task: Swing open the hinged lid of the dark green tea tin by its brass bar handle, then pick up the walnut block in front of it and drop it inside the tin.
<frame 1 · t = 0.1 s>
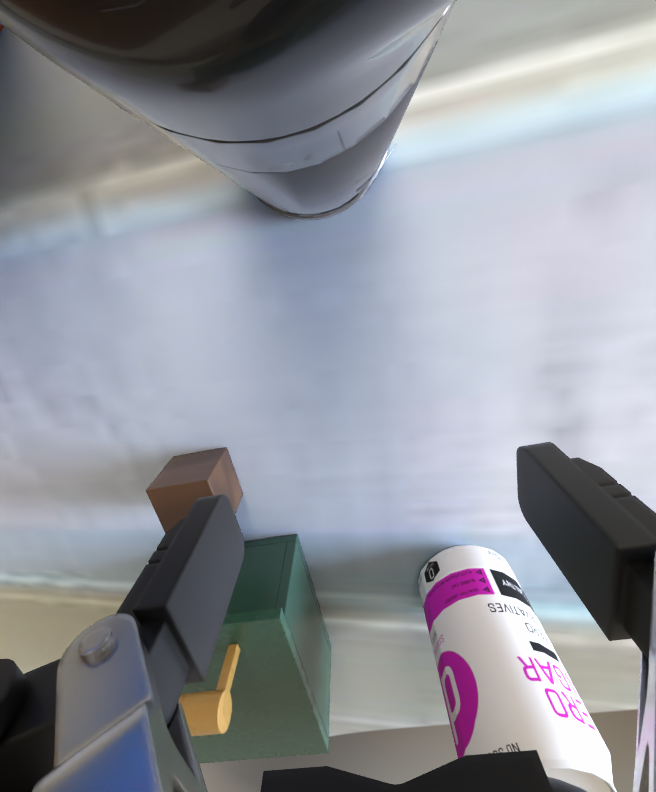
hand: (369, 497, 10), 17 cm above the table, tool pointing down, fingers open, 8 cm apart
walnut block: (208, 475, 31), on the table
supplement can: (461, 573, 34), on the table
tin lid: (222, 732, 26), point 11 cm above the table, hinge at 0.0°
tea tin: (257, 601, 36), on the table
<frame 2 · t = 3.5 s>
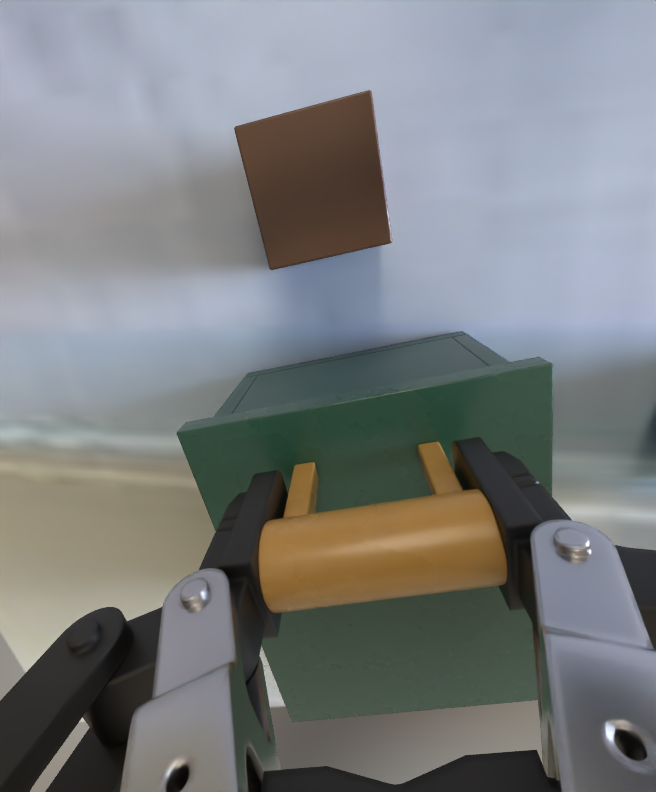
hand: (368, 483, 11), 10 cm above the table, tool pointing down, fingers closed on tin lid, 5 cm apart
walnut block: (322, 203, 17), on the table
tin lid: (399, 637, 12), point 11 cm above the table, hinge at 0.0°, touching gripper
tea tin: (374, 468, 22), on the table
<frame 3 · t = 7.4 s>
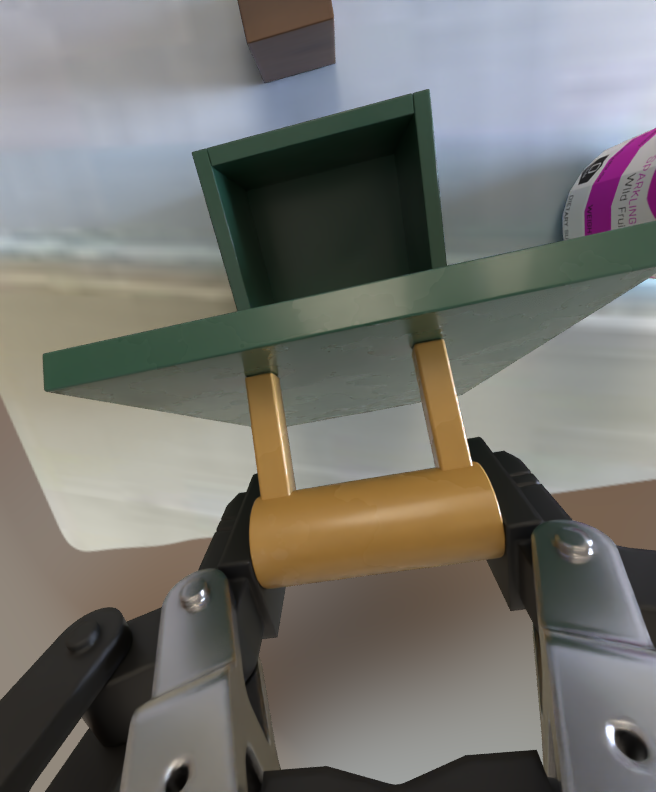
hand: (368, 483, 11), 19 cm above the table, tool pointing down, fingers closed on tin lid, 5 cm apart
walnut block: (290, 27, 22), on the table
supplement can: (616, 212, 25), on the table
tin lid: (365, 445, 14), point 16 cm above the table, hinge at 61.4°, touching gripper
tea tin: (338, 274, 27), on the table
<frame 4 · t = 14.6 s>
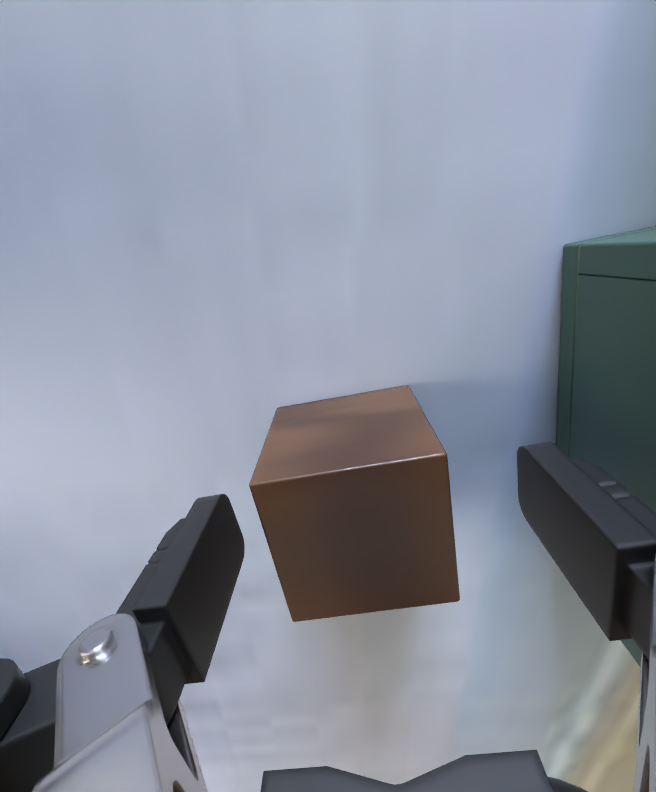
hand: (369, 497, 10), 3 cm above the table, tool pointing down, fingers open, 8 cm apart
walnut block: (352, 453, 13), on the table
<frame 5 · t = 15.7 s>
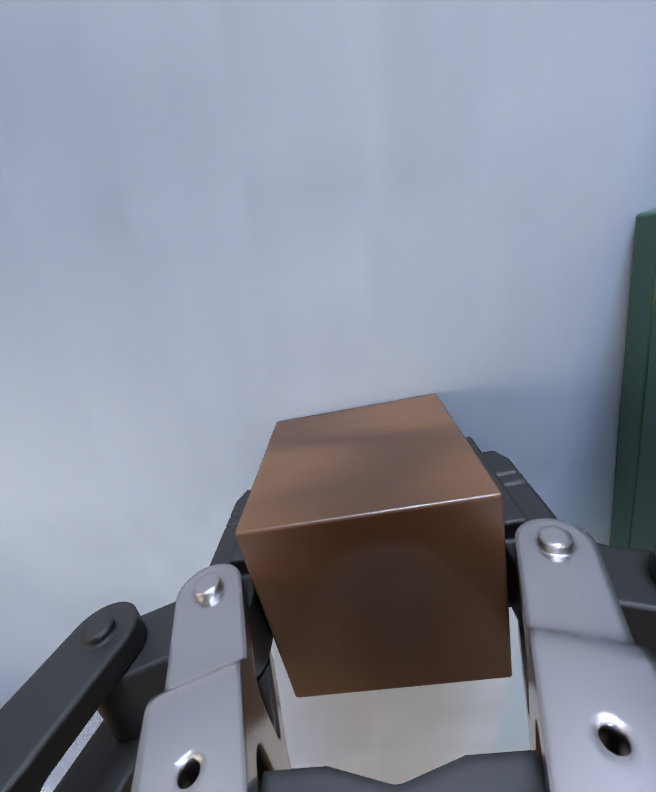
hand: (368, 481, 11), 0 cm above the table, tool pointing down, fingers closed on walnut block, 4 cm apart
walnut block: (368, 475, 11), on the table, touching gripper
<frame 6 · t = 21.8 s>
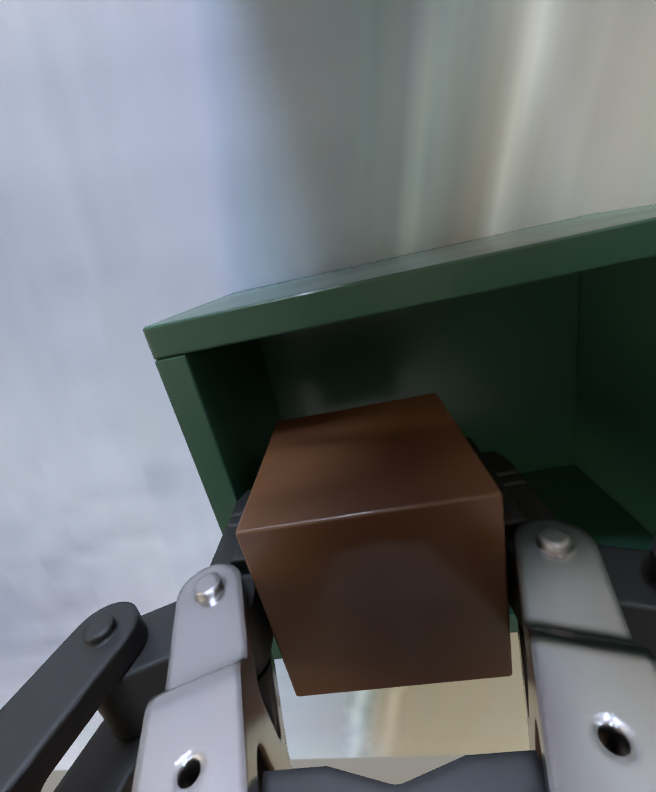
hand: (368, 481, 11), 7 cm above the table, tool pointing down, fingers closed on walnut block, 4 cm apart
walnut block: (368, 474, 11), point 7 cm above the table, touching gripper
tea tin: (419, 386, 17), on the table
when the fingers open (10 cm above the table, at t = 38.1 s): walnut block drops 9 cm, resting on tea tin.
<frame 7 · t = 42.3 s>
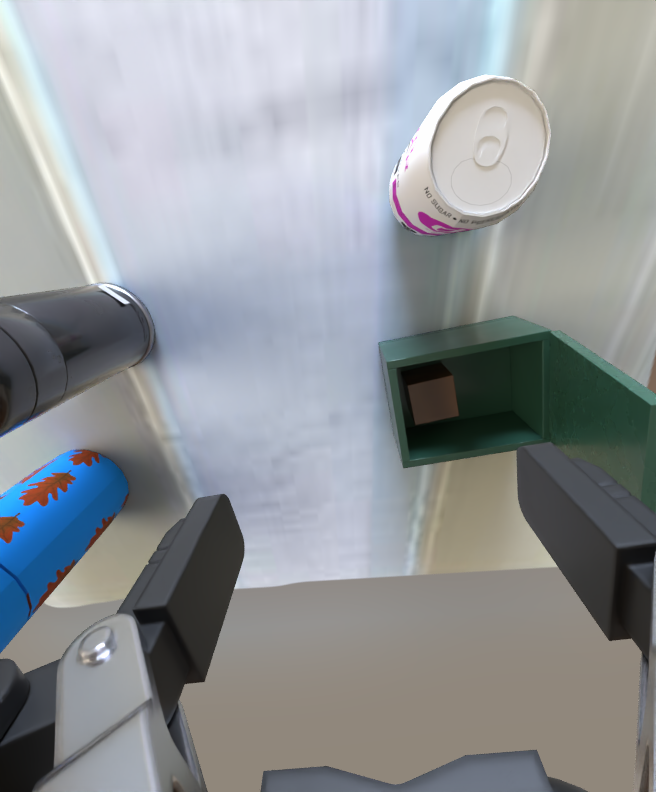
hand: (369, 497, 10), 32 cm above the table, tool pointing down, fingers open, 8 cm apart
walnut block: (424, 385, 42), point 1 cm above the table, touching tea tin
supplement can: (430, 190, 36), on the table
tin lid: (628, 429, 26), point 16 cm above the table, hinge at 79.4°
thermos: (90, 482, 50), on the table
tea tin: (449, 378, 42), on the table
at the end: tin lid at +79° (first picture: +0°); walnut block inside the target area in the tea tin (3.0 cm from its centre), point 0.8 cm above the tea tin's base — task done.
